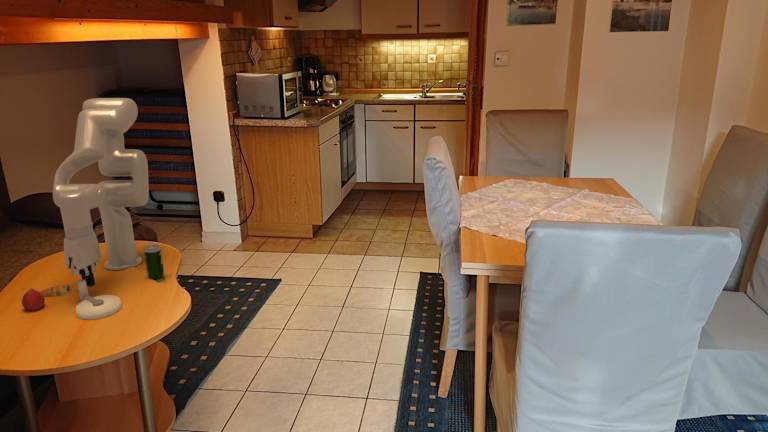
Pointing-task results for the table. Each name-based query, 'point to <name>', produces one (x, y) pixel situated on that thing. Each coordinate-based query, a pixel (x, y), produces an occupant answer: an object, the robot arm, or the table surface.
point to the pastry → (56, 291)
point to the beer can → (154, 262)
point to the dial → (95, 304)
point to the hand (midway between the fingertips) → (89, 285)
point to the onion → (33, 300)
